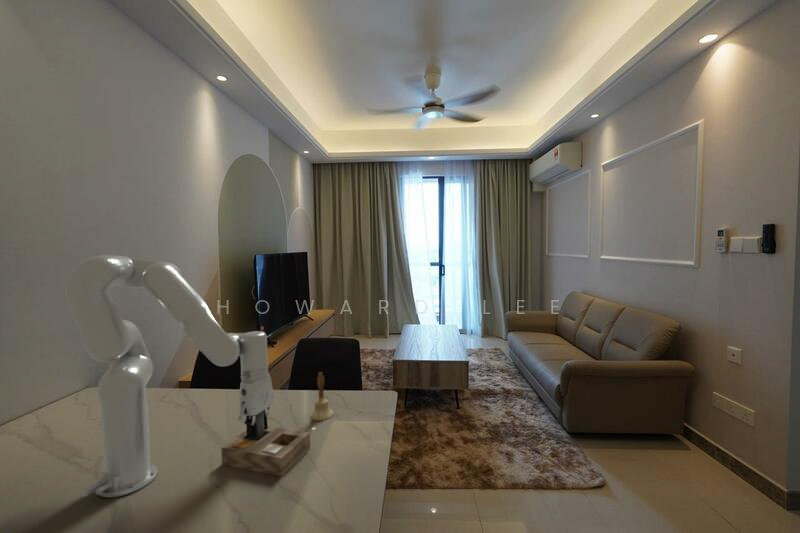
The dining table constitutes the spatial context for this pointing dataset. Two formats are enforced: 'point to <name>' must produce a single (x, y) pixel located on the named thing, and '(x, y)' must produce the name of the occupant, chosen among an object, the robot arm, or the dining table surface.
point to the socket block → (267, 451)
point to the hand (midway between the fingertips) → (257, 432)
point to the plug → (259, 426)
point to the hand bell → (321, 403)
